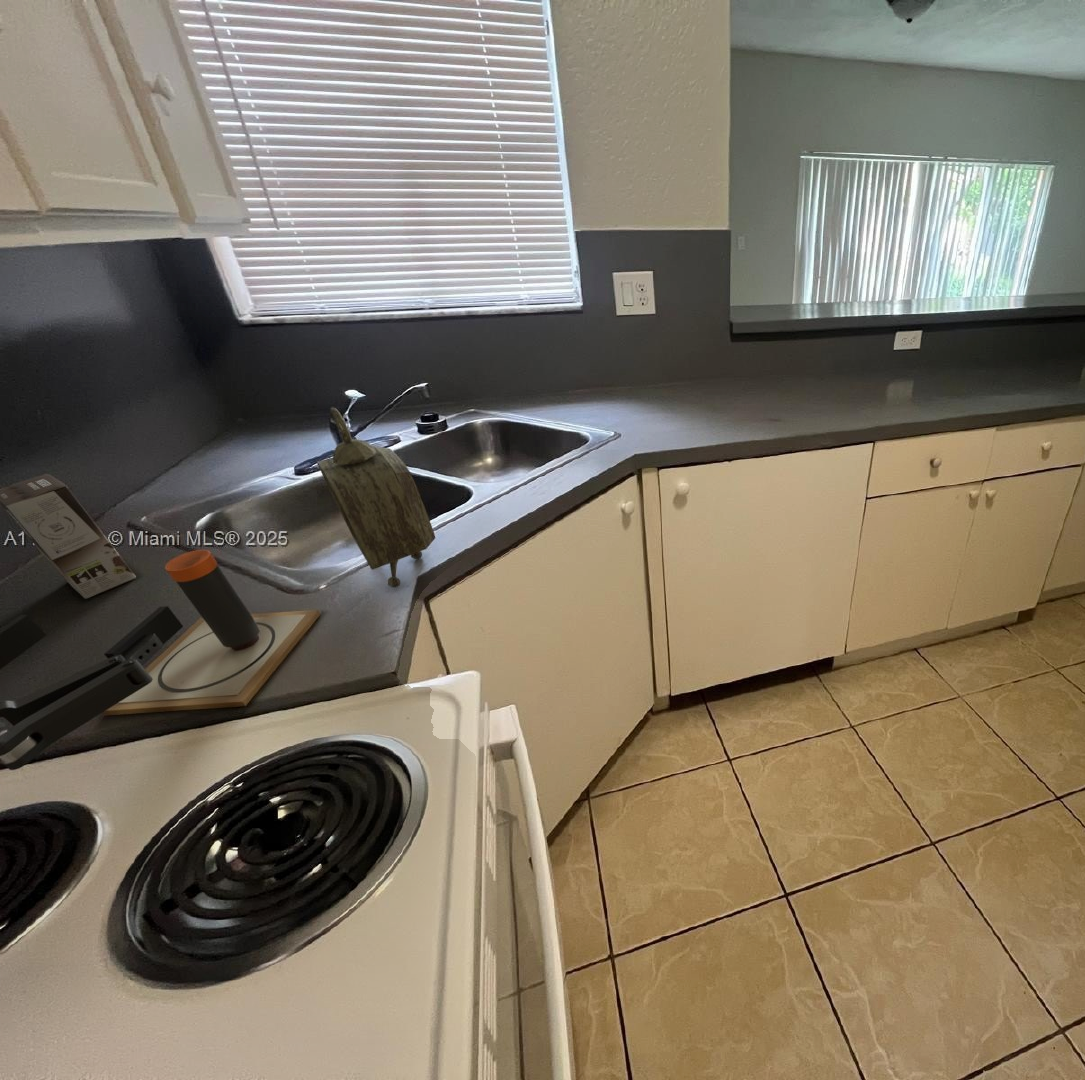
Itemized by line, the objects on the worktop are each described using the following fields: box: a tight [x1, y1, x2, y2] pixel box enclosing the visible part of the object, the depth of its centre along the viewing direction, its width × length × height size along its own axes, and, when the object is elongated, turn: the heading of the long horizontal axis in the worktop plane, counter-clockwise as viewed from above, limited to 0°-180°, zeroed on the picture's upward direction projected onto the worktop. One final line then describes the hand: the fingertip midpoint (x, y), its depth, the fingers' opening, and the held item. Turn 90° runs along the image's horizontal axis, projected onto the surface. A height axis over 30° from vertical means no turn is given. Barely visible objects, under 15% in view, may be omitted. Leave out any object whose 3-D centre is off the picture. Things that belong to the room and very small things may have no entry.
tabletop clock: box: [316, 407, 436, 589], centre depth 80 cm, size 14×9×25 cm, turn 41°
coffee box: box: [0, 473, 137, 600], centre depth 83 cm, size 9×6×16 cm
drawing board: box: [101, 609, 322, 717], centre depth 71 cm, size 16×16×1 cm
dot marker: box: [164, 549, 260, 650], centre depth 69 cm, size 4×4×13 cm
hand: (103, 620), depth 57 cm, fingers open, 13 cm apart
